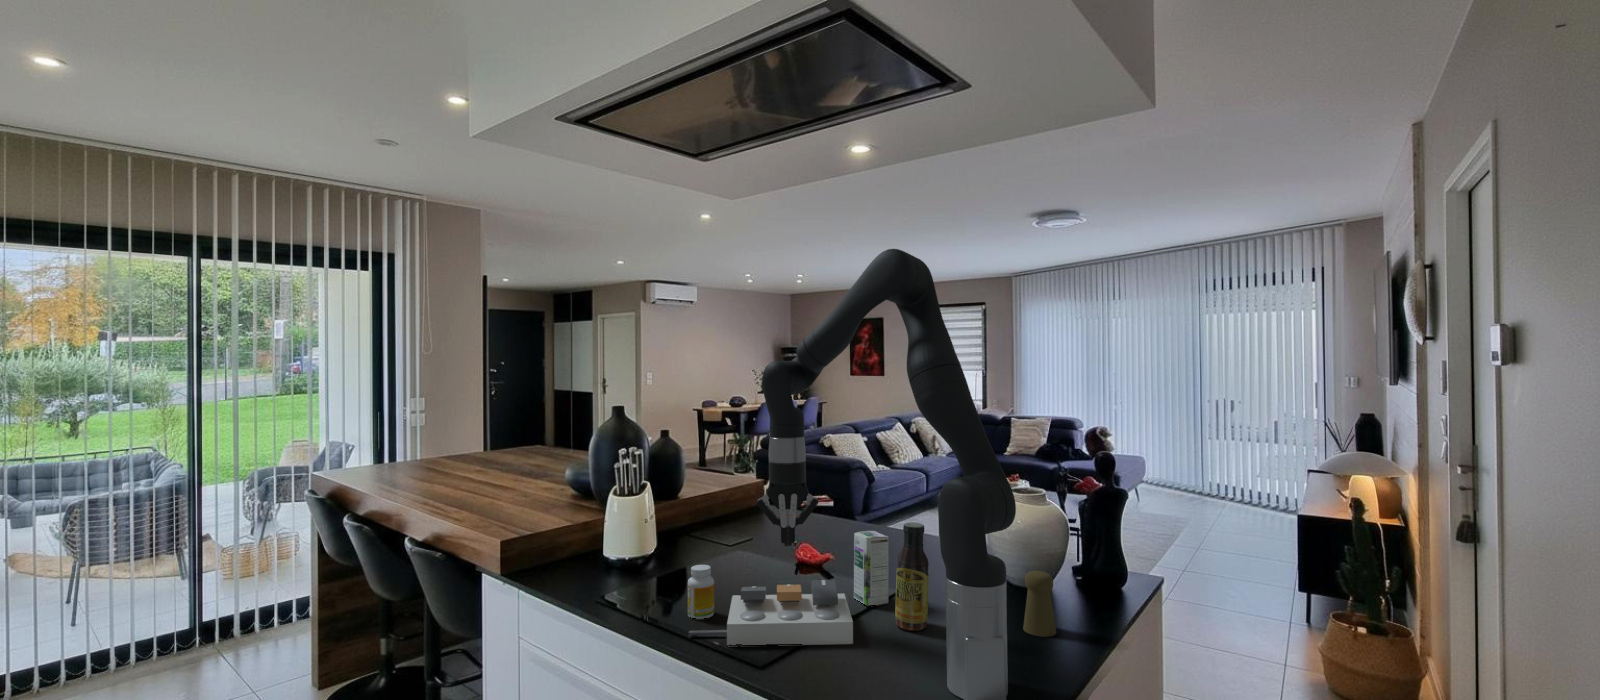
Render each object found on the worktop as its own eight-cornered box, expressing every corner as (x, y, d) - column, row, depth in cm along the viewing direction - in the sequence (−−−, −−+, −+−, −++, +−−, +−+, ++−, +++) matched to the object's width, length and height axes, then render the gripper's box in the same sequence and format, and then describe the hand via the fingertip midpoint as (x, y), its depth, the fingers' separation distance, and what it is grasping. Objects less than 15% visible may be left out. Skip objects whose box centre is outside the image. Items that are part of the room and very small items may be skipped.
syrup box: (852, 599, 142) (852, 532, 142) (876, 595, 144) (875, 529, 145) (866, 607, 137) (865, 538, 137) (890, 603, 139) (889, 535, 139)
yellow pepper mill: (1059, 637, 121) (1058, 578, 121) (1025, 635, 122) (1024, 576, 122) (1053, 625, 127) (1052, 568, 127) (1021, 623, 128) (1020, 566, 128)
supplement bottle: (719, 613, 134) (719, 566, 134) (701, 622, 129) (701, 572, 130) (700, 608, 137) (700, 561, 137) (682, 616, 132) (682, 568, 133)
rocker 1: (765, 604, 125) (765, 589, 125) (740, 604, 125) (740, 590, 125) (766, 599, 131) (766, 586, 132) (742, 600, 131) (742, 586, 132)
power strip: (853, 643, 119) (852, 620, 119) (685, 647, 118) (685, 623, 118) (844, 613, 134) (844, 592, 134) (695, 615, 133) (695, 594, 133)
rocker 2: (801, 605, 125) (801, 591, 126) (776, 605, 125) (776, 591, 125) (800, 597, 132) (800, 583, 132) (776, 597, 131) (776, 584, 132)
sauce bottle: (890, 629, 125) (889, 525, 126) (901, 618, 131) (900, 518, 131) (923, 635, 122) (922, 529, 123) (933, 623, 128) (932, 522, 128)
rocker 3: (837, 609, 126) (837, 596, 125) (813, 609, 126) (813, 597, 125) (834, 591, 132) (835, 579, 132) (811, 591, 132) (811, 579, 131)
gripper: (754, 462, 128) (754, 551, 127) (821, 460, 128) (822, 549, 128) (755, 457, 135) (755, 541, 134) (818, 456, 136) (819, 539, 135)
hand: (788, 545), depth 131 cm, fingers closed
